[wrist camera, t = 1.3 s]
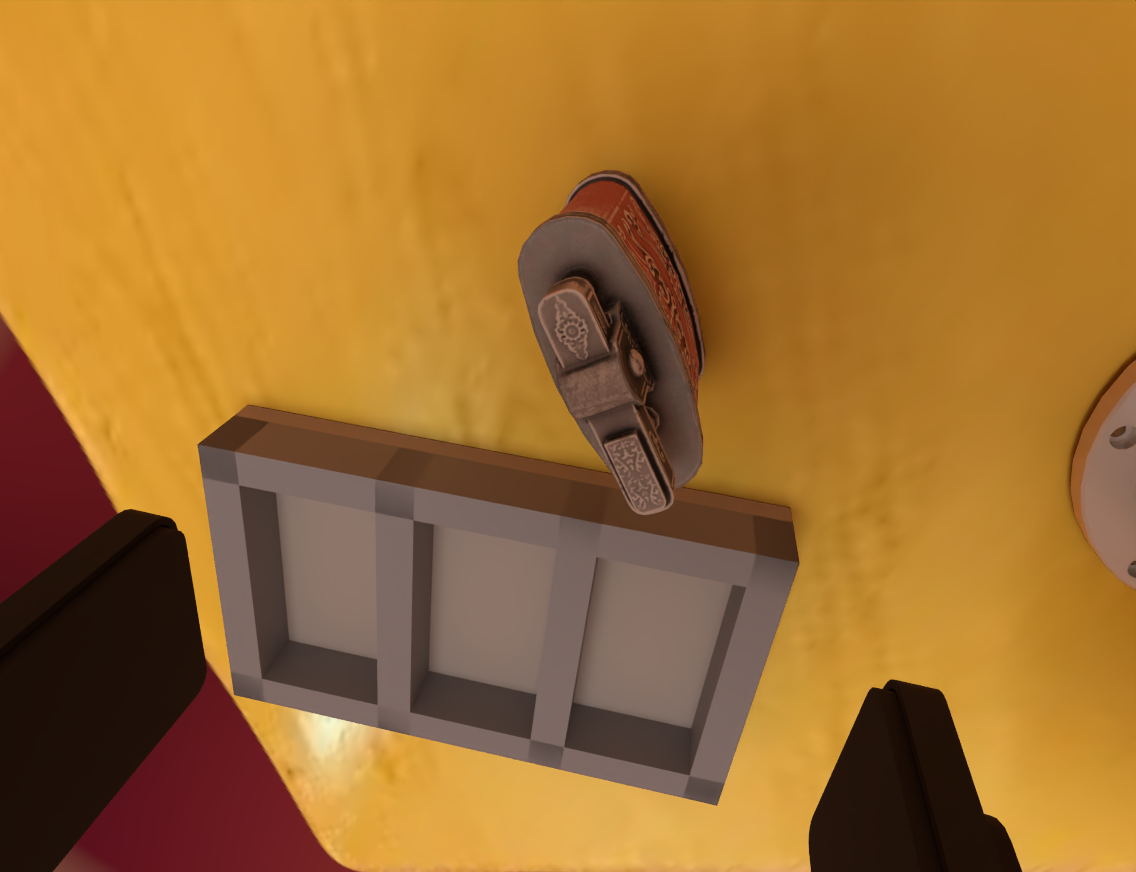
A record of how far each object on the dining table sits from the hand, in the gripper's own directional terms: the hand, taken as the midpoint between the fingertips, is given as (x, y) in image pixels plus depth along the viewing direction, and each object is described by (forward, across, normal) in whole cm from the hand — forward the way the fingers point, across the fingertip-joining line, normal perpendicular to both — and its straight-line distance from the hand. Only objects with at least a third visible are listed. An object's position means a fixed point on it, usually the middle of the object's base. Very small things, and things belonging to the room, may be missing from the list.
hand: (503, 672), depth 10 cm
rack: (+18, +4, +14) cm, 23 cm away
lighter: (+18, 0, 0) cm, 18 cm away
